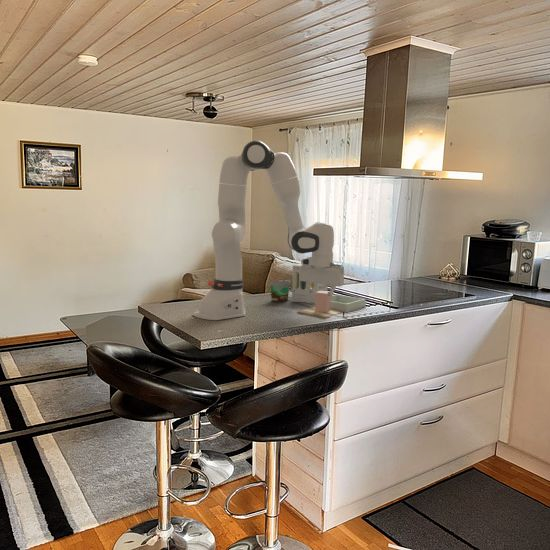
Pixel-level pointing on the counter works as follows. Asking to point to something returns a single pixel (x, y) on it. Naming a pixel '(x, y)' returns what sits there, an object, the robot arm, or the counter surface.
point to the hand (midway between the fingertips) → (320, 294)
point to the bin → (346, 303)
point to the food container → (280, 290)
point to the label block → (322, 301)
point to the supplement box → (303, 288)
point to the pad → (319, 313)
